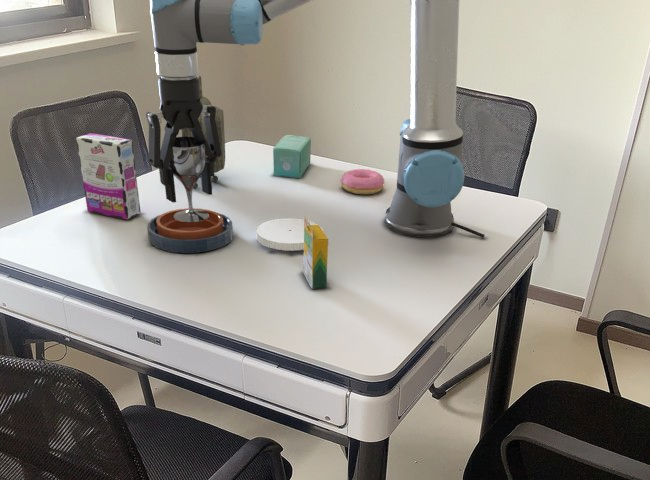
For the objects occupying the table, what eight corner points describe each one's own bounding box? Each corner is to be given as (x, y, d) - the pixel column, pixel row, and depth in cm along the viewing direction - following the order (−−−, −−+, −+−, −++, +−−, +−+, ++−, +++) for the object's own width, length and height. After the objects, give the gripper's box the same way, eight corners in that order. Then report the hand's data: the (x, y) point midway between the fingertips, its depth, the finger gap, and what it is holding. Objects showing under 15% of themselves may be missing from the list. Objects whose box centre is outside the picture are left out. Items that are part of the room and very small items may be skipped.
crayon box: (327, 288, 135) (329, 229, 128) (311, 289, 134) (312, 230, 128) (317, 272, 140) (319, 214, 134) (302, 273, 140) (303, 215, 133)
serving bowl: (248, 242, 151) (248, 228, 149) (173, 261, 142) (172, 247, 140) (206, 217, 162) (205, 204, 160) (134, 233, 152) (132, 219, 151)
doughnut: (331, 189, 182) (332, 173, 180) (356, 179, 190) (357, 163, 187) (367, 199, 177) (368, 182, 175) (392, 188, 185) (393, 172, 182)
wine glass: (202, 224, 145) (196, 149, 137) (165, 220, 146) (156, 145, 138) (216, 211, 152) (211, 138, 144) (180, 207, 153) (173, 135, 145)
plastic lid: (244, 247, 149) (244, 236, 147) (274, 225, 160) (274, 214, 158) (307, 260, 145) (307, 248, 144) (333, 236, 156) (333, 225, 155)
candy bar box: (142, 213, 162) (133, 139, 153) (128, 220, 158) (118, 144, 149) (101, 205, 165) (90, 131, 156) (86, 211, 161) (74, 136, 153)
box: (272, 176, 189) (272, 147, 185) (284, 161, 200) (284, 134, 196) (300, 179, 188) (300, 150, 184) (310, 164, 199) (311, 136, 195)
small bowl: (236, 241, 151) (235, 223, 149) (177, 255, 144) (176, 236, 142) (203, 221, 160) (202, 204, 158) (147, 234, 152) (144, 216, 150)
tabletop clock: (191, 172, 188) (183, 69, 174) (226, 173, 189) (221, 71, 175) (186, 191, 176) (177, 82, 162) (224, 191, 177) (218, 83, 163)
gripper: (215, 68, 143) (223, 182, 155) (117, 78, 131) (134, 200, 144) (236, 74, 138) (242, 192, 150) (136, 85, 127) (151, 211, 139)
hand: (189, 196), depth 147 cm, fingers closed on wine glass, 7 cm apart
